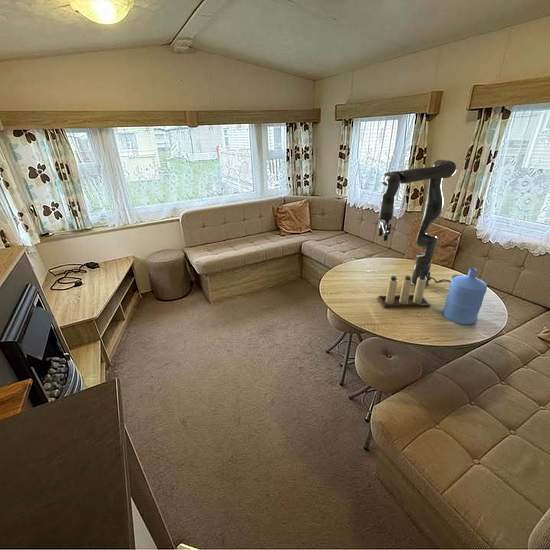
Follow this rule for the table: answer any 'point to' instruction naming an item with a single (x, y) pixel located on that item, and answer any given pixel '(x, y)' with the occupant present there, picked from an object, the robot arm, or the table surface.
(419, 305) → the tray
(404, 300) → the bottle
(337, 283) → the table surface
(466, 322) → the water jug
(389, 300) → the cream pillar candle
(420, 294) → the bottle
